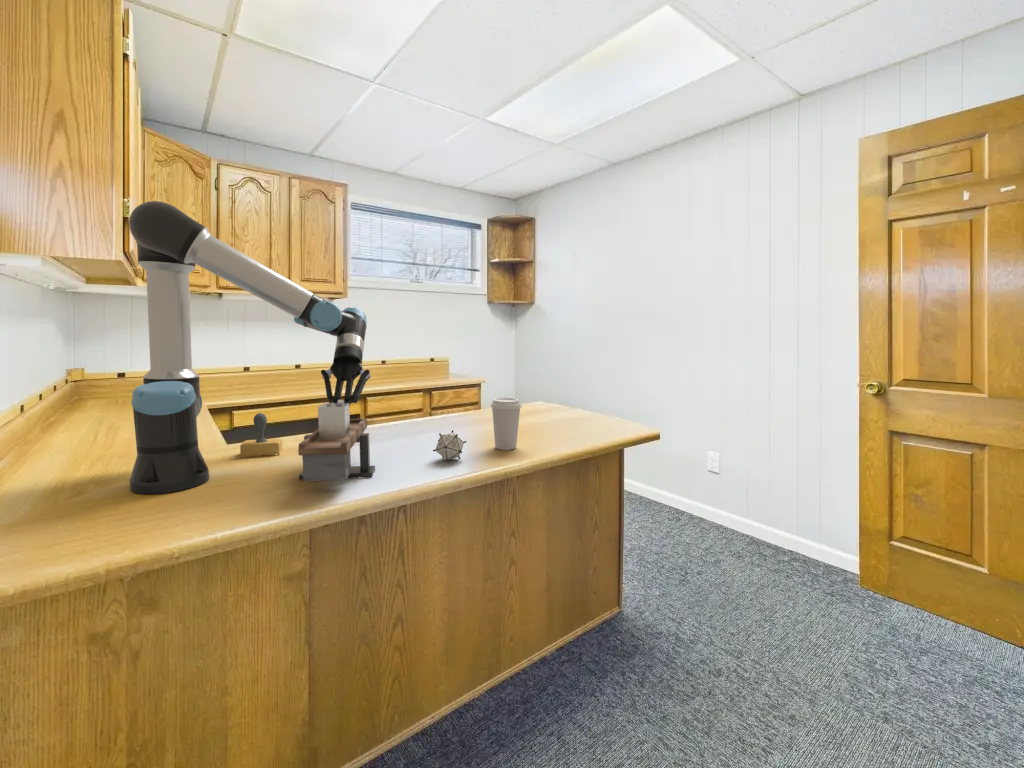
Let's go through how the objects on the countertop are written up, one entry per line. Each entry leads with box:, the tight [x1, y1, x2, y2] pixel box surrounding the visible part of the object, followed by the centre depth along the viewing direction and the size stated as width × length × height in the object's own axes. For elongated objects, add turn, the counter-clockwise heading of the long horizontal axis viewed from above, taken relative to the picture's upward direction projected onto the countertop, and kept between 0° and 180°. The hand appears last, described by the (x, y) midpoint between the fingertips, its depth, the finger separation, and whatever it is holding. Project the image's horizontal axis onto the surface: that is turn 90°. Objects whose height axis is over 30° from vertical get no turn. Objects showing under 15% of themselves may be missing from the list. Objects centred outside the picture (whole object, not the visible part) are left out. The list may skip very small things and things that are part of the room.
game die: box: [432, 429, 467, 464], centre depth 135 cm, size 9×8×10 cm
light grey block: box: [317, 402, 351, 438], centre depth 117 cm, size 6×6×8 cm
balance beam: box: [297, 418, 368, 482], centre depth 120 cm, size 30×10×8 cm, turn 8°
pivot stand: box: [298, 432, 376, 480], centre depth 120 cm, size 6×17×10 cm, turn 98°
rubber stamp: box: [239, 412, 284, 458], centre depth 139 cm, size 10×6×12 cm, turn 106°
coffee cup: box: [490, 397, 523, 451], centre depth 148 cm, size 10×10×15 cm
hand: (338, 423), depth 122 cm, fingers closed
